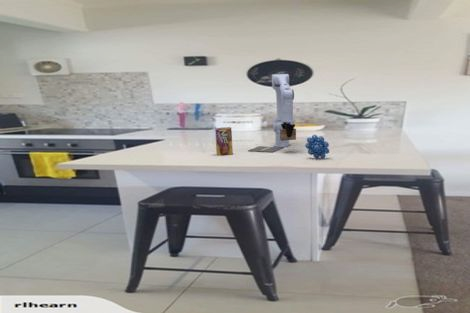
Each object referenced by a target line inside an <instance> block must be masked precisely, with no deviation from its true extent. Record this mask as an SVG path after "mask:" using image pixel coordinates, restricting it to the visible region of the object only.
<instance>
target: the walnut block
mask: <svg viewBox="0 0 470 313" xmlns="http://www.w3.org/2000/svg"><path fill="white" fill-rule="evenodd" d="M280 140H282V141H285V140H289V141H296V140H297V129H296V128H294V129H293V132H292V136H291V137H287V132H286V129H280Z"/></svg>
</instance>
